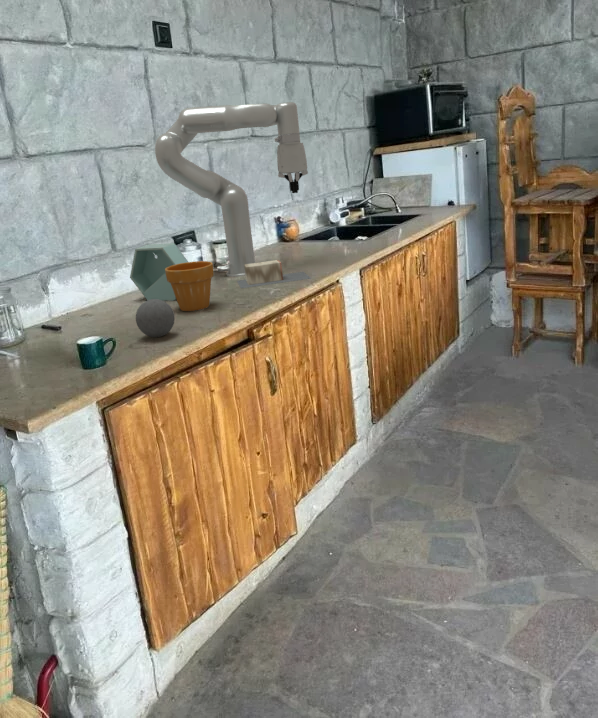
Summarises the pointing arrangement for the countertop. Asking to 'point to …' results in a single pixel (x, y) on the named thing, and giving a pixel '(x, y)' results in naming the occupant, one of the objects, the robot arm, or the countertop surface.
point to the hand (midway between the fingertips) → (294, 192)
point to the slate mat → (286, 278)
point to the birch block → (263, 272)
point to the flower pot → (191, 284)
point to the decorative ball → (155, 318)
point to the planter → (155, 270)
